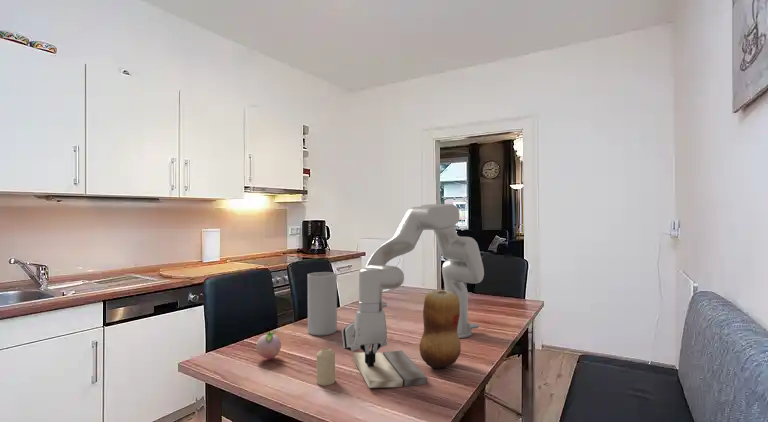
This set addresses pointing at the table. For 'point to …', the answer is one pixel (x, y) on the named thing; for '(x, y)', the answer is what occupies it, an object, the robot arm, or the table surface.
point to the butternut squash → (440, 329)
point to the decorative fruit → (268, 345)
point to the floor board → (405, 368)
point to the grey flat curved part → (349, 337)
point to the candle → (325, 367)
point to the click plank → (378, 371)
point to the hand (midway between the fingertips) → (370, 365)
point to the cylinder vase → (322, 303)
